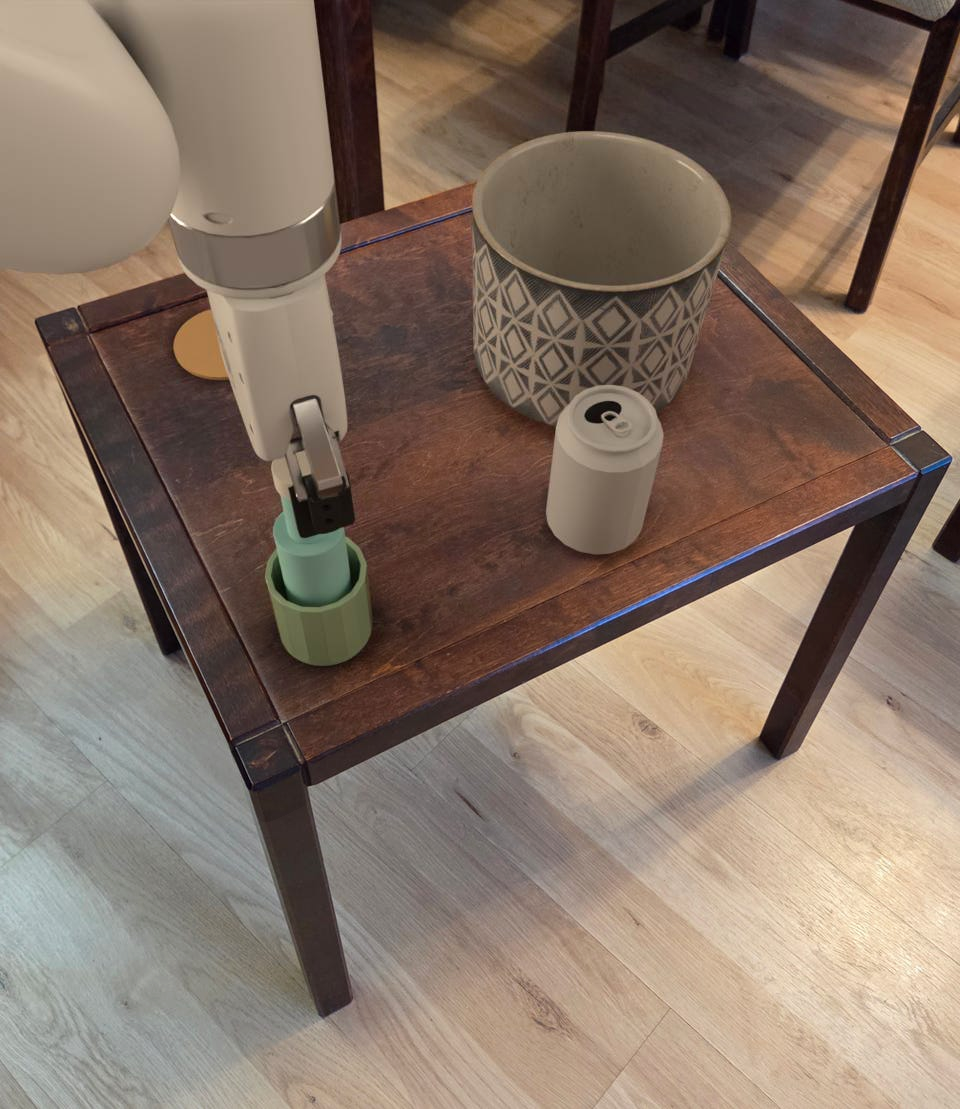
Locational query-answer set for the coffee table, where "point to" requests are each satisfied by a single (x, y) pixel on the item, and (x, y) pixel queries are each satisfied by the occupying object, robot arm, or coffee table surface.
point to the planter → (592, 268)
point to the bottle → (308, 550)
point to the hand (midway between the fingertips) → (303, 465)
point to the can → (603, 469)
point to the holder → (323, 616)
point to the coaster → (200, 348)
